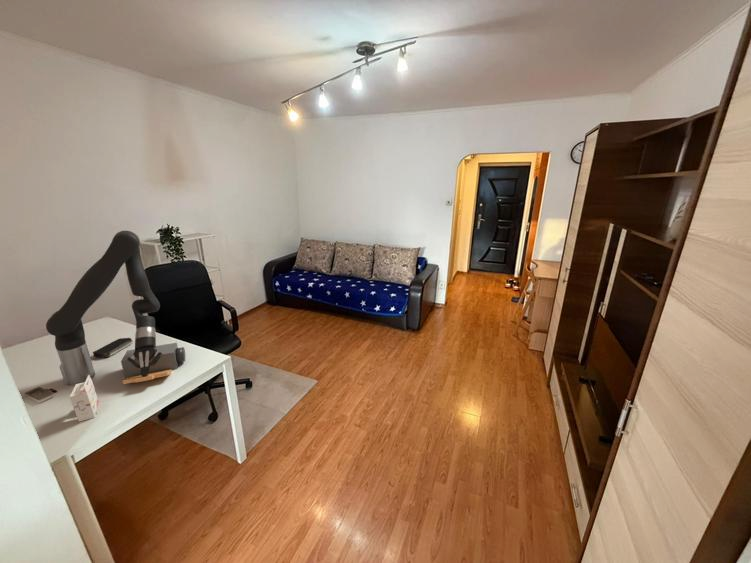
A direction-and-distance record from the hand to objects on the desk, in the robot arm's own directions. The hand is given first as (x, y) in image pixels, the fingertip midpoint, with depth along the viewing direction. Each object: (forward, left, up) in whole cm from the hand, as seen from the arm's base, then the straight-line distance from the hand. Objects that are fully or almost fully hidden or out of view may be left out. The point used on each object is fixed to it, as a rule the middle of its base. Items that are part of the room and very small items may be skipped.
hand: (145, 376), depth 129 cm
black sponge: (-23, +43, -7) cm, 49 cm away
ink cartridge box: (-17, -9, -6) cm, 20 cm away
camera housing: (+1, +15, -6) cm, 16 cm away
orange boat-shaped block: (0, +9, -5) cm, 10 cm away
